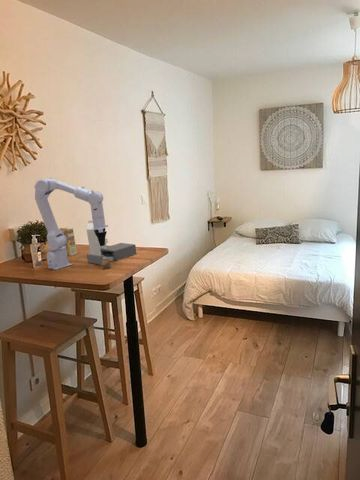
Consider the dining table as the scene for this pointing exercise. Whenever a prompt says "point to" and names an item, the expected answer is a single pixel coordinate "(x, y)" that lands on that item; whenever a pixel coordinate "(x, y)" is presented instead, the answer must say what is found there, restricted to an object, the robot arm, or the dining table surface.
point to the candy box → (69, 240)
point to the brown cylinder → (106, 263)
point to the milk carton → (93, 240)
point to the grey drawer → (99, 258)
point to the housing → (119, 250)
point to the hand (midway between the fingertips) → (102, 244)
